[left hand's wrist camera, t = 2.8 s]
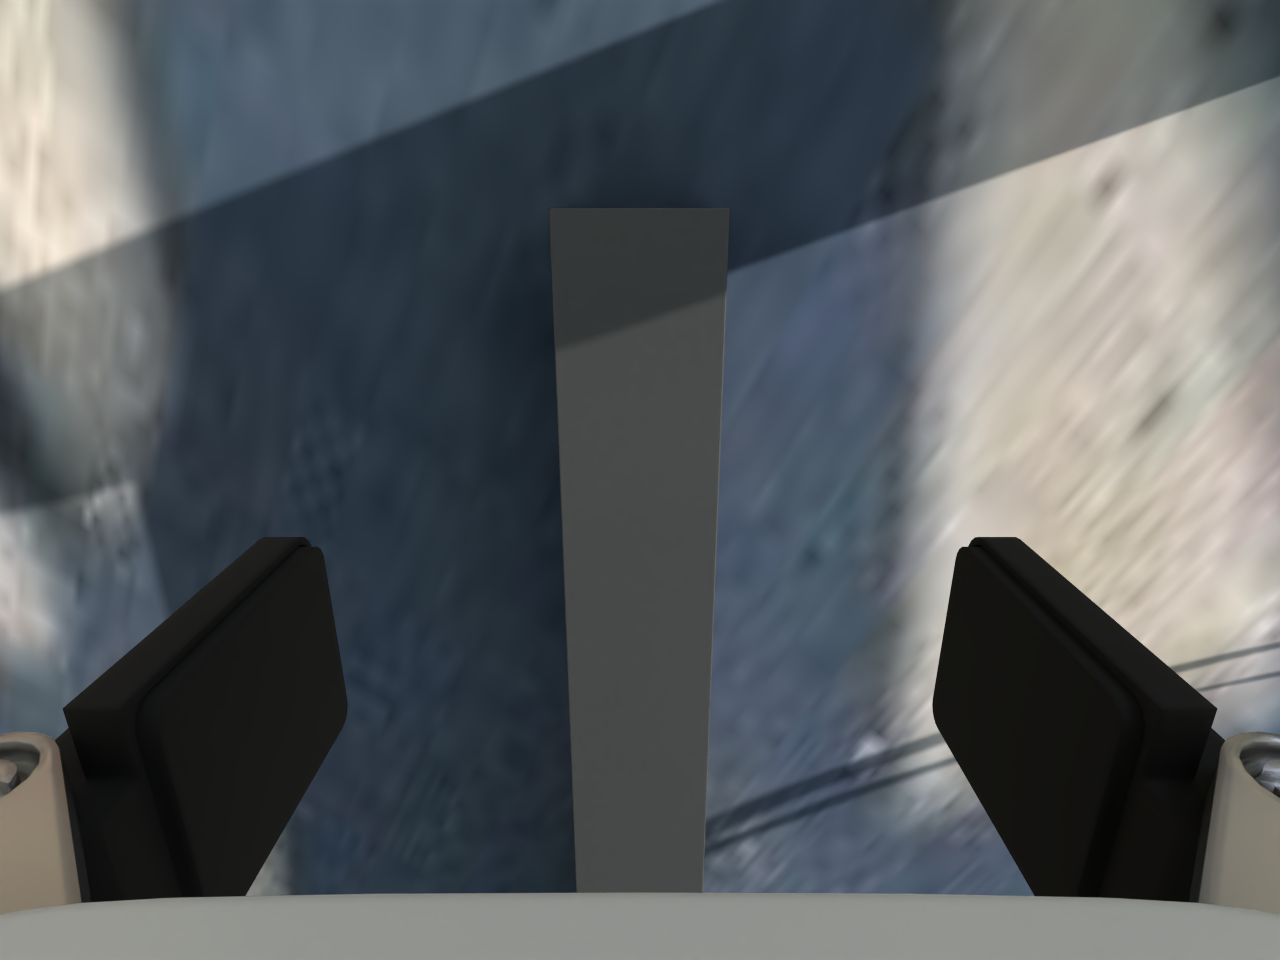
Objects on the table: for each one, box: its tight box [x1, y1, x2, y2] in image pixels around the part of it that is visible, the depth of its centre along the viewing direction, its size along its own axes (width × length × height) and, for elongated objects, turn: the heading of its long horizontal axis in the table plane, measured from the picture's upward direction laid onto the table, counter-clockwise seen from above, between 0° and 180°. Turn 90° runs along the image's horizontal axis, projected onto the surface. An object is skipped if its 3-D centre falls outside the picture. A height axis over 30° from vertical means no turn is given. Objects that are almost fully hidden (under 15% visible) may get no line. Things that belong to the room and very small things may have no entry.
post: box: [549, 208, 730, 893], centre depth 40 cm, size 75×6×6 cm, turn 0°
